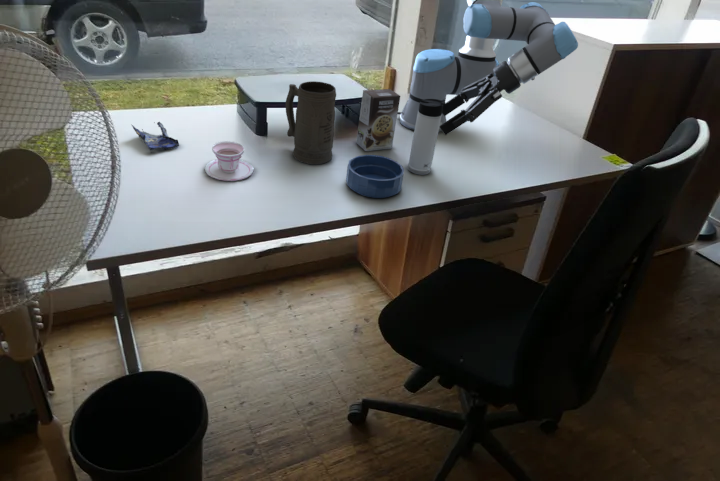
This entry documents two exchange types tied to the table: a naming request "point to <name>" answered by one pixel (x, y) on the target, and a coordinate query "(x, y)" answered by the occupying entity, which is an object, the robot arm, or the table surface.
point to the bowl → (374, 176)
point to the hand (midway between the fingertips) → (441, 121)
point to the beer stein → (312, 121)
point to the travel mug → (425, 136)
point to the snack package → (157, 139)
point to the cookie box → (377, 119)
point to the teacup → (228, 162)
